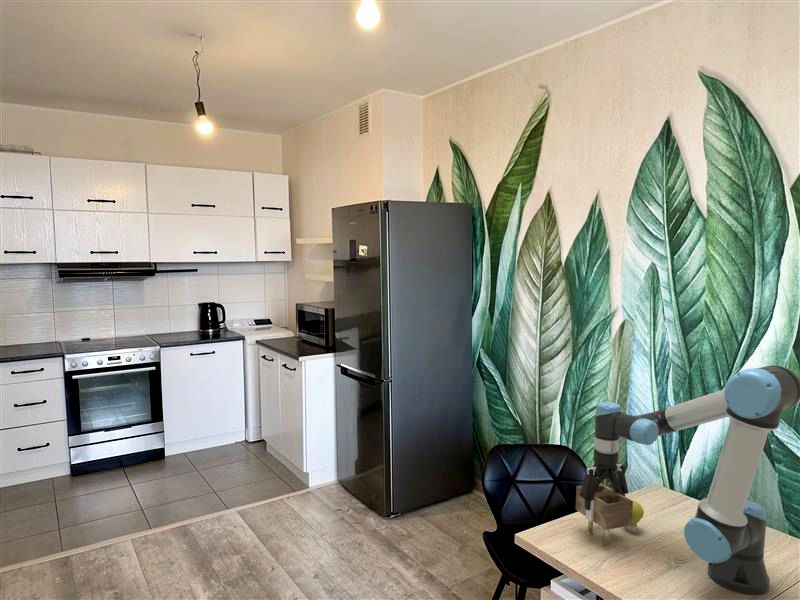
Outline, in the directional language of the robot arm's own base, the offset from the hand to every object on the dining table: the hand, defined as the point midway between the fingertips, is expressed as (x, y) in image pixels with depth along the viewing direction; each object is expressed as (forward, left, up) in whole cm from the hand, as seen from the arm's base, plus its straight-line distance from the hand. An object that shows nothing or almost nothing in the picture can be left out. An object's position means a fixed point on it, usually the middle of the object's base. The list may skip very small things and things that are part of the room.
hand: (602, 516), depth 181 cm
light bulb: (+1, -14, -7) cm, 15 cm away
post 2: (-4, +1, -7) cm, 8 cm away
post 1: (+4, +1, -7) cm, 8 cm away
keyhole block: (0, 0, 0) cm, 0 cm away
